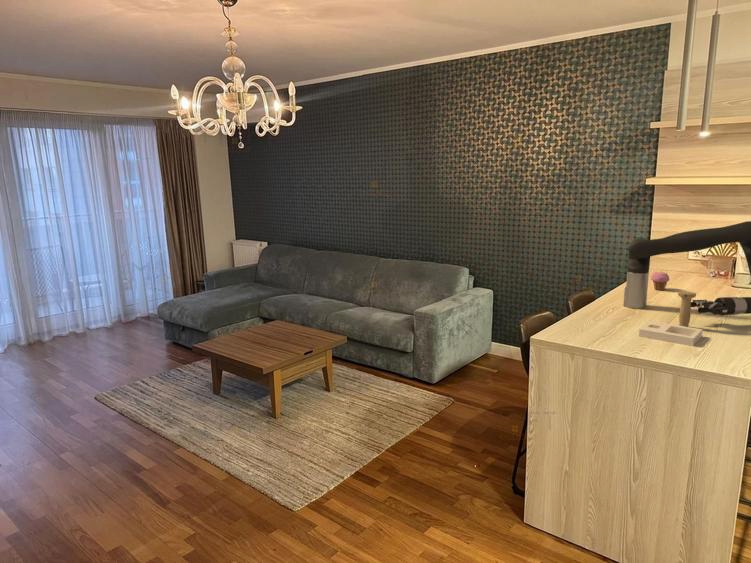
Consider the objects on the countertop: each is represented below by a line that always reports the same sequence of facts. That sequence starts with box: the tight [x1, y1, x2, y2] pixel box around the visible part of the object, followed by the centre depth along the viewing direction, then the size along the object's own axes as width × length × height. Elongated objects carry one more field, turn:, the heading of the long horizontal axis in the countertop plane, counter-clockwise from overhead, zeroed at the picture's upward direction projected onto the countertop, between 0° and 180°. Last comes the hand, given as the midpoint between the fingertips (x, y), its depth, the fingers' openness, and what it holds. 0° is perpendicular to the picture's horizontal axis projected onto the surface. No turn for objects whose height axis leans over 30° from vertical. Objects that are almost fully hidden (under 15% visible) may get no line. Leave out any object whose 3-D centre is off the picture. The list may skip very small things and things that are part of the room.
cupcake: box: [650, 271, 670, 291], centre depth 274 cm, size 9×9×10 cm
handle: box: [677, 290, 697, 327], centre depth 210 cm, size 5×6×15 cm
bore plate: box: [638, 320, 703, 347], centre depth 201 cm, size 19×14×3 cm
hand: (691, 307), depth 210 cm, fingers open, 8 cm apart
